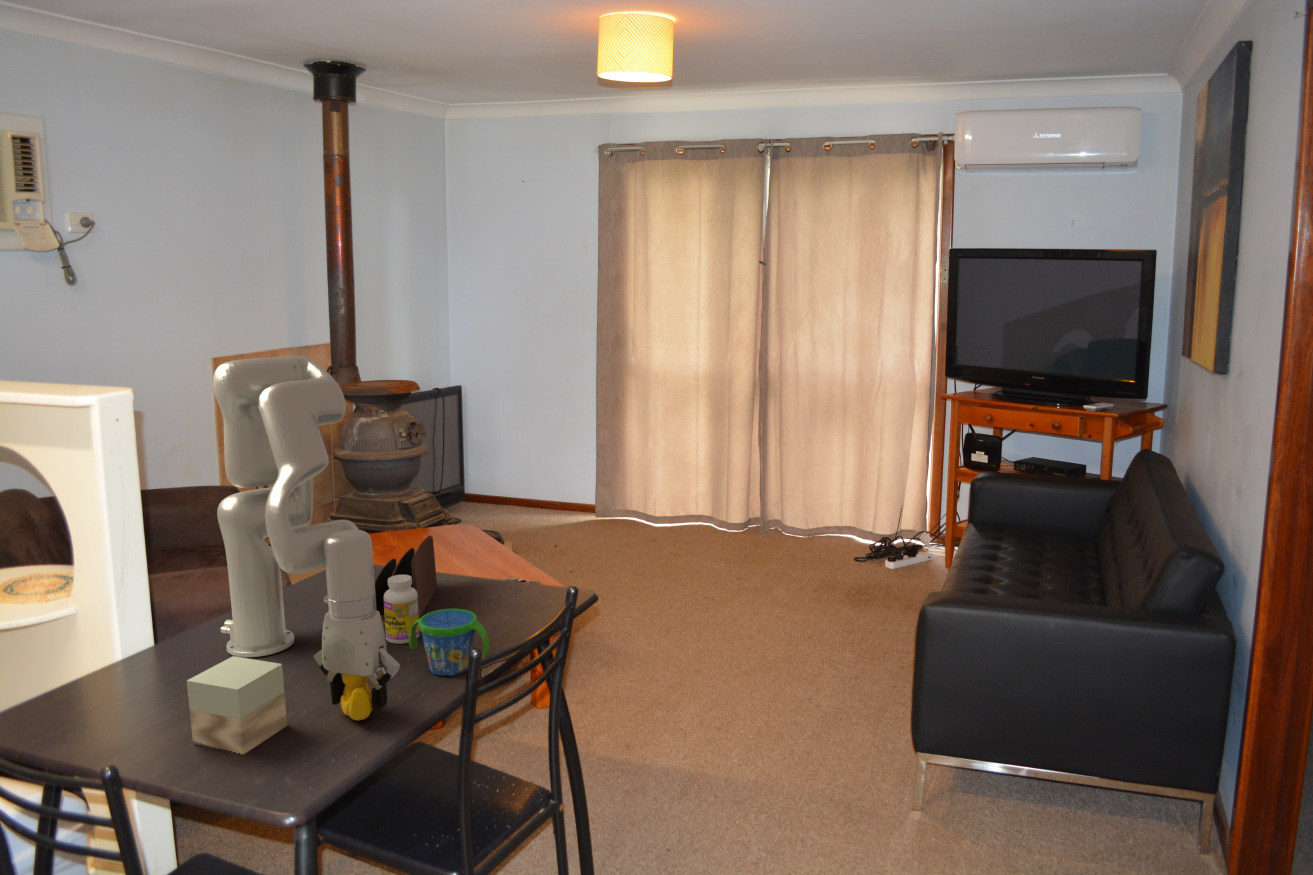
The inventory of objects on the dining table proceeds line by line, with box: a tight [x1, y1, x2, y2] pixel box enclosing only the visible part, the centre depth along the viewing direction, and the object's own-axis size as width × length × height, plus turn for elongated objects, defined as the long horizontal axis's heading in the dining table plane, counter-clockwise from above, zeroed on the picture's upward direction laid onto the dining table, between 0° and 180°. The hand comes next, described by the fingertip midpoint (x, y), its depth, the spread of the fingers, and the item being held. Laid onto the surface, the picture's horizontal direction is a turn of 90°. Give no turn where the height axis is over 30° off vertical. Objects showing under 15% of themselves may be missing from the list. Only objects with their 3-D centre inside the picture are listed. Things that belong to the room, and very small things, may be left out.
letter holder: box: [374, 535, 438, 621], centre depth 216 cm, size 10×20×14 cm, turn 1°
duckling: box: [340, 674, 374, 721], centre depth 163 cm, size 11×5×10 cm, turn 23°
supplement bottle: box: [384, 575, 420, 645], centre depth 196 cm, size 7×7×13 cm
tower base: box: [189, 692, 288, 755], centre depth 157 cm, size 10×10×6 cm
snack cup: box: [408, 608, 491, 677], centre depth 181 cm, size 16×10×10 cm
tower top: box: [186, 655, 285, 719], centre depth 156 cm, size 10×10×5 cm
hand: (359, 703), depth 164 cm, fingers closed on duckling, 7 cm apart
